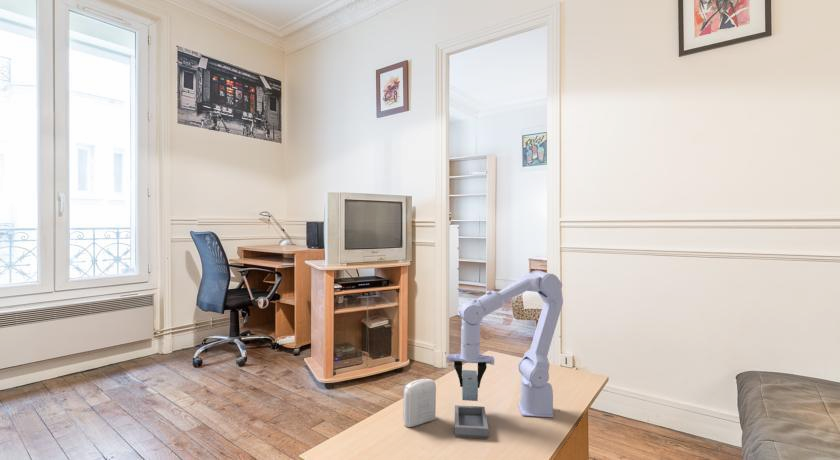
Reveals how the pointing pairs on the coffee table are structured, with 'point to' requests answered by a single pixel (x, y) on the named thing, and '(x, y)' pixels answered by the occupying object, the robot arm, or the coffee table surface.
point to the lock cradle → (471, 422)
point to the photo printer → (419, 402)
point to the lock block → (469, 385)
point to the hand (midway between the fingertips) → (469, 386)
